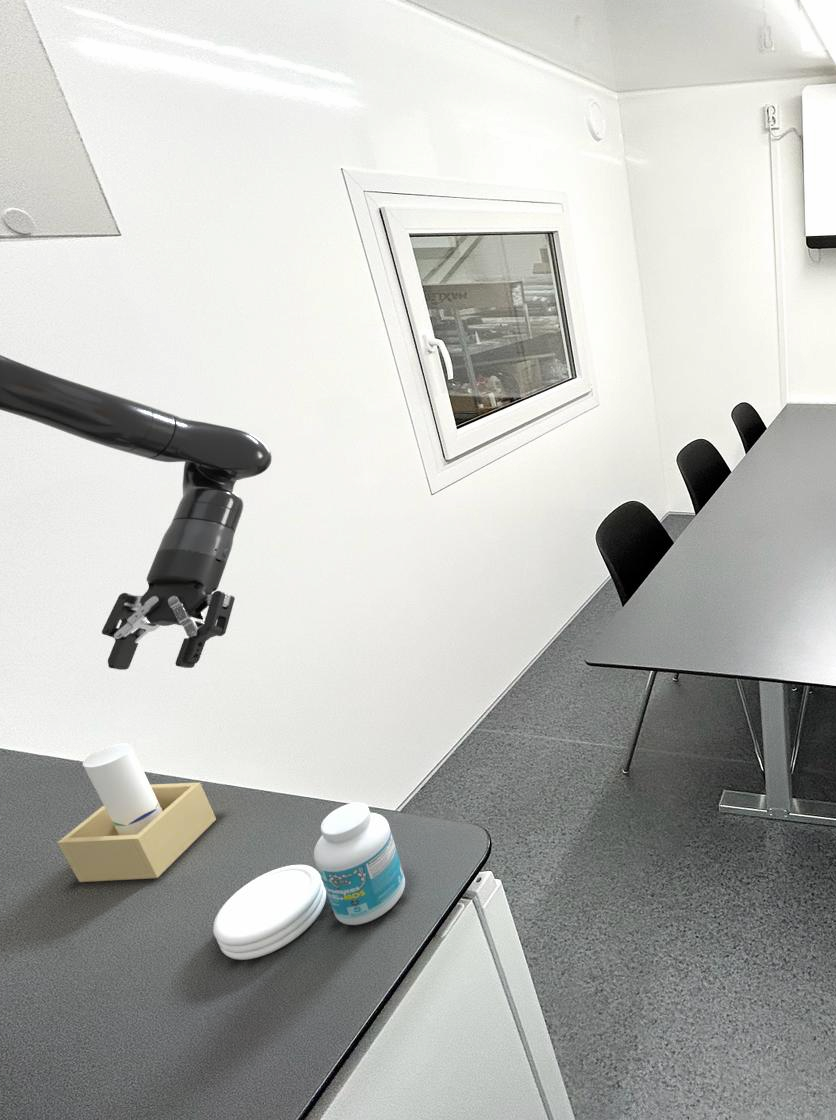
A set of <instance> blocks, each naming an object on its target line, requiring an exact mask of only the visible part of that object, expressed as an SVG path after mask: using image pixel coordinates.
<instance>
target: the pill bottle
mask: <svg viewBox="0 0 836 1120" xmlns="http://www.w3.org/2000/svg"><path fill="white" fill-rule="evenodd" d="M320 831H321V836H320V838H319V839H318V840H317V842H316V844H315V847H314V850H313V859H314V862H315V865H316V868H317V871H318V872H319V874H320V876H321V880H322V881H323V884H324V887H325V889H326V896H327V897H328V901H329V904H330V906H331V909H332V911H333V915H334V917H335V918H336V919H337V921H339V922H340V923H341V924H343V925H348V926H358V925H363V924H367V923H369V922H372V921H374V920H376V919H378V918H379V917H381V916H383V915H384V914H386V913H387V912H388V911H389V910H391V909H392V908H393V907H394V906H395V905H396V904H397V902H399V900H400V898H401V897H402V895H403V893H404V891H405V886H406V877H405V874H404V871H403V867H402V864H401V861H400V857H399V853H398V850H397V847H396V844H395V840H394V838H393V833H392V830H391V827H390V824H389V822H388V820H387V819H386V818H385V817H384V816H383V815H381V814H379V813H376V812H371V811H370V808H369V806H368V805H367V804H366V803H364V802H350V803H347V804H344V805H342V806H339V807H338V808H336V809H334V810H333V811H331V812H330V813H329V814H327V815H326V817H325V818H324V819H323V820H322V822H321V824H320Z"/></svg>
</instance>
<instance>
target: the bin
mask: <svg viewBox="0 0 836 1120" xmlns="http://www.w3.org/2000/svg"><path fill="white" fill-rule="evenodd" d="M150 786H151V788H152V790H153V792H154V794H155V796H156V798H157V800H158V802H159V804H160V807H161V809H162V811H163V812H162V813H161V814H159V815H158V816H157V817H156V818H155V819H154V820H153V821H152V822H151V823H149V824H148V825H147V826H146V827H145V828H144V829H143V830H142V831H140V832H139V833H138V834H137V835H119V833H118V832H117V830H116V828H115V826H114V824H113V821H112V820H111V818H110V816H109V814H108V812H107V810H106V809H105V807H104V805H103V804H102V806H100V807H99V808H98V809H97V810H95V812H93V813H92V814H91V815H89V816H88V817H87V818H86V819H85V820H83V821H82V822H81V823H79V824H78V825H77V826H76V827H74V828H73V829H72V830H71V831H70V832H68V833H67V834H66V835H65V836H63V837H62V838H60V839H59V840H58V841H57V842H56V844H57V845H58V847H59V849H60V851H61V852H62V854H63V855H64V857H65V859H66V861H67V862H68V864H69V866H70V868H71V870H72V871H73V873H74V875H75V877H76V879H77V880H78V882H79V883H85V882H86V883H87V882H88V883H89V882H107V881H109V882H110V881H125V880H145V879H147V880H149V879H158V878H159V877H160V876H161V875H162V874H163V873H164V872H165V871H166V870H167V869H168V868H169V867H170V866H171V865H172V864H173V863H174V862H175V861H176V860H177V859H178V858H179V857H180V856H181V855H182V854H183V853H184V852H185V851H186V850H187V849H188V848H189V847H190V846H191V845H192V844H193V843H194V842H195V841H196V840H198V839H199V838H200V836H201V835H202V834H203V833H204V832H205V831H206V830H208V828H209V827H210V826H212V825H213V823H214V822H215V821H216V820H217V818H216V815H215V813H214V811H213V809H212V807H211V804H210V802H209V799H208V798H207V795H206V793H205V790H204V788H203V786H202V783H201V782H179V783H155V784H150Z"/></svg>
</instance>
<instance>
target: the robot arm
mask: <svg viewBox="0 0 836 1120" xmlns="http://www.w3.org/2000/svg"><path fill="white" fill-rule="evenodd" d="M0 411H3V412H6V413H9V414H13V415H15V416H19V417H22V418H26V419H28V420H31V421H34V422H37V423H40V424H42V425H45V426H48V427H50V428H53V429H56V430H58V431H61V432H64V433H67V434H70V435H72V436H75V437H78V438H80V439H83V440H86V441H89V442H91V443H94V444H98V445H101V446H104V447H107V448H111V449H113V450H117V451H120V452H124V453H127V454H131V455H134V456H138V457H142V458H144V459H147V460H152V461H157V462H163V463H181V462H182V463H184V465H183V472H182V473H183V475H182V496H181V499H180V500H179V503H178V506H177V508H176V511H175V513H174V515H173V518H172V521H171V523H170V525H169V527H168V528H167V529H166V531H165V533H164V535H163V536H162V539H161V542H160V544H159V547H158V549H157V551H156V554H155V556H154V559H153V562H152V564H151V566H150V569H149V571H148V574H147V575H146V582H147V585H148V588H147V590H146V591H145V592H144V594H143V595H134V594H130V593H127V592H122V593H121V594H119V595H118V597H117V599H116V601H115V603H114V605H113V606H112V609H111V611H110V613H109V615H108V618H107V620H106V621H105V624H104V626H103V628H102V630H101V635H105V636H108V637H111V638H113V639H114V643H113V645H112V649H111V651H110V653H109V656H108V658H107V667H108V668H110V669H114V670H119V671H123V670H125V671H126V670H128V669H129V668H130V666H131V663H132V661H133V658H134V656H135V653H136V651H137V649H138V646H139V641H140V640H141V639H142V638H143V637H145V636H146V635H147V634H148V633H149V632H154V631H156V630H157V629H158V628H160V627H162V626H163V627H169V626H173V625H177V626H181V627H183V629H184V631H185V634H186V635H187V637H186V638H185V637H184V638H183V640H182V643H181V646H180V649H179V652H178V654H177V657H176V659H175V663H174V664H175V667H178V668H184V669H192V668H194V667H195V665H196V664H197V663H198V662H199V661H200V659H201V656H202V653H203V650H204V647H205V645H206V642H207V641H209V640H210V639H211V638H214V637H222V636H224V635H225V634H226V632H227V629H228V625H229V621H230V617H231V614H232V610H233V607H234V604H235V599H236V597H235V596H234V595H232V594H229V593H227V592H224V591H221V590H218V588H219V586H220V582H221V580H222V577H223V574H224V572H225V570H226V566H227V563H228V561H229V557H230V555H231V551H232V548H233V545H234V537H235V534H236V531H237V528H238V526H239V523H240V519H241V517H242V515H243V511H244V500H243V499H242V497H241V496H240V495H238V494H237V493H235V492H234V487H235V485H236V483H237V481H240V480H245V479H249V478H253V477H256V476H259V475H261V474H263V473H264V472H266V471H267V470H268V469H269V467H270V466H271V464H272V461H273V457H272V452H271V450H270V447H268V445H267V444H266V443H265V442H264V441H263V440H261V439H260V438H258V437H257V436H255V435H254V434H251V433H249V432H248V431H247V432H246V431H244V430H241V429H238V428H237V429H236V428H233V427H229V426H224V425H219V424H215V423H210V422H205V421H199V420H192V419H187V418H183V417H180V416H178V415H175V414H173V413H170V412H167V411H164V410H161V409H159V408H155V407H153V406H151V405H147V404H143V403H141V402H138V401H134V400H131V399H128V398H125V397H123V396H119V395H116V394H113V393H110V392H107V391H103V390H100V389H97V388H94V387H91V386H87V385H85V384H81V383H78V382H75V381H71V380H69V379H67V378H63V377H60V376H56V375H54V374H51V373H48V372H46V371H43V370H40V369H37V368H34V367H32V366H30V365H27V364H24V363H21V362H20V361H16V360H14V359H11V358H9V357H6V356H4V355H2V354H0ZM206 609H207V612H206V615H205V613H204V610H206ZM144 619H146V620H144ZM120 621H121V622H120ZM119 623H120V624H119ZM118 625H119V626H118Z"/></svg>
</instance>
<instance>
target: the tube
mask: <svg viewBox="0 0 836 1120" xmlns="http://www.w3.org/2000/svg"><path fill="white" fill-rule="evenodd" d="M82 766H83V768H84V770H85V771H86V774H87V776H88V778H89V780H90V782H91V783H92V786H93V787H94V789H95V791H96V793H97V795H98V797H99V799H100V801H101V803H102V806H103V805H104V807H105V809H106V810H107V812H108V814H109V816H110V818H111V820H112V821H113V824H114V826H115V828H116V830H117V832H118V833H119V835H137V834H138V833H139V832H140V831H142V830H143V829H144V828H145V827H146V826H147V825H148V824H149V823H151V822H152V821H153V820H154V819H155V818H156V817H157V816H158V815H159V814H161V813H162V812H163V811H162V809H161V807H160V804H159V802H158V800H157V798H156V796H155V794H154V792H153V790H152V788H151V786H150V785H151V784H150V781H149V780H148V777H147V776H146V773H145V771H144V769H143V767H142V764H141V762H140V761H139V758H138V757H137V754H136V753H135V750H134V747H133V746H132V745H131V743H127V742H121V743H115V744H111V745H108V746H105V747H103V748H100V749H98V750H96V751H94V752H93V753H91V754H90V755H88V756H87V757H86V758H85V759H84V760H83V762H82Z"/></svg>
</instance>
